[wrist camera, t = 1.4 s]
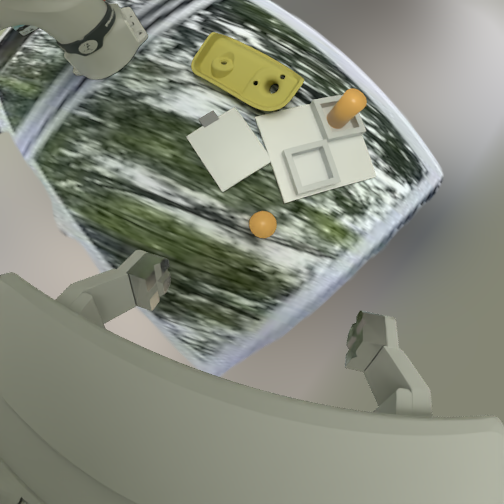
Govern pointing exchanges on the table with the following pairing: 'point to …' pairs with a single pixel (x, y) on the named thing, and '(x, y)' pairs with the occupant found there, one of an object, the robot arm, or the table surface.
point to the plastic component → (245, 72)
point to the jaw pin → (262, 224)
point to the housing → (317, 145)
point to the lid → (228, 148)
